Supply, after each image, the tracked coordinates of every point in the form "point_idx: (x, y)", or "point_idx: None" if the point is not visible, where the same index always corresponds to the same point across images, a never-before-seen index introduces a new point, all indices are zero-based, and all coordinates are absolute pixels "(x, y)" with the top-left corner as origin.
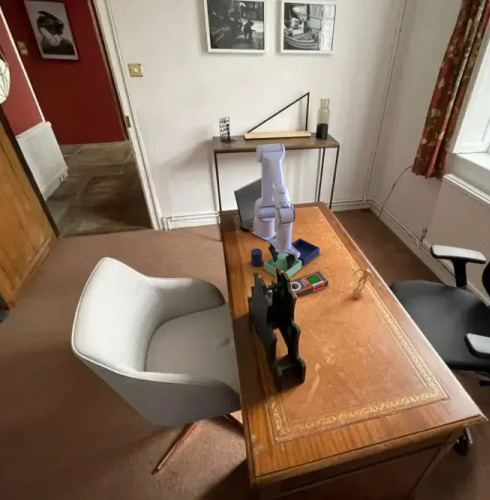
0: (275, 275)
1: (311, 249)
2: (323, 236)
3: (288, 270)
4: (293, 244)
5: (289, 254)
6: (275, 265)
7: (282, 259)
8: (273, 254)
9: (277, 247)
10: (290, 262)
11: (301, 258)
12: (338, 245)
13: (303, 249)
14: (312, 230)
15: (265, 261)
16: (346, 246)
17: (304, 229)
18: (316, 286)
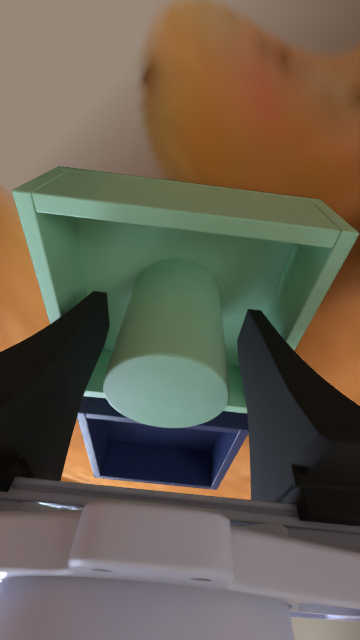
0: (169, 182)
1: (141, 450)
2: (162, 489)
3: (45, 272)
4: (221, 458)
5: (2, 472)
6: (239, 290)
7: (131, 357)
8: (280, 374)
9: (192, 628)
10: (2, 358)
11: (102, 408)
12: (91, 478)
13: (175, 439)
14: (214, 496)
15: (342, 259)
16: (68, 480)
17: (242, 494)
18: None
